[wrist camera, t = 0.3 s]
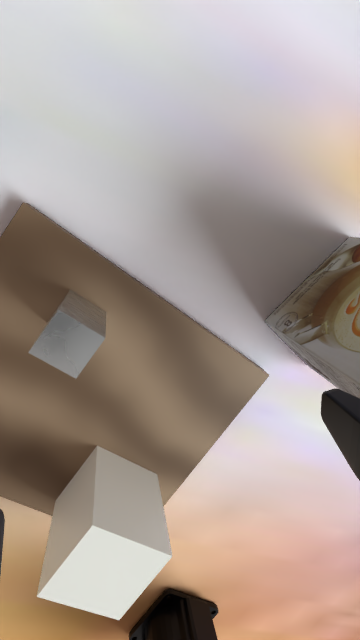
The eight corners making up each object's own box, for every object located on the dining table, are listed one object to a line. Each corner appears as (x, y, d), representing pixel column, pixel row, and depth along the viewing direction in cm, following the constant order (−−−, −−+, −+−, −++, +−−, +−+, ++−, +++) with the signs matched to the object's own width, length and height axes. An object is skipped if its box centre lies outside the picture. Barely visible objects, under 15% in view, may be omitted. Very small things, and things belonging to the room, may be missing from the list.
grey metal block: (83, 344, 21) (75, 378, 17) (47, 322, 20) (28, 352, 16) (106, 312, 21) (105, 338, 16) (70, 289, 20) (58, 309, 15)
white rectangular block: (117, 525, 26) (119, 620, 20) (55, 500, 24) (36, 596, 18) (157, 474, 25) (172, 556, 19) (97, 445, 24) (92, 525, 17)
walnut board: (130, 532, 28) (131, 545, 27) (-123, 433, 21) (-136, 444, 20) (262, 368, 26) (269, 375, 25) (28, 203, 19) (23, 202, 18)
